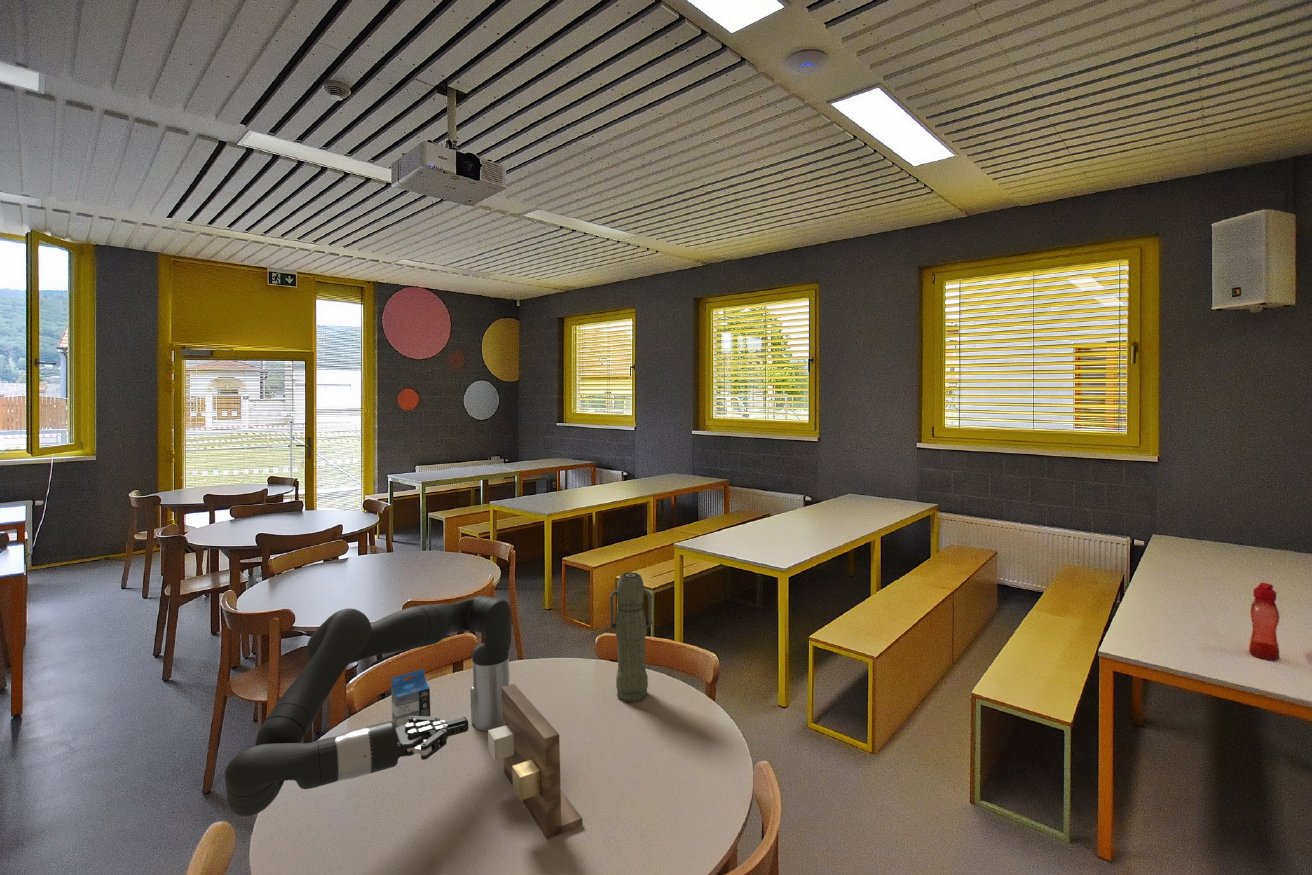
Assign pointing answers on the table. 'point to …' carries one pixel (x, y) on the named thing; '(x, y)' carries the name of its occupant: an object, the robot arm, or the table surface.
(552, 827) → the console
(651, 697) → the table surface
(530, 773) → the yellow rectangular block
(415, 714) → the label tape cartridge
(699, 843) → the table surface
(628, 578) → the thermos
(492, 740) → the key white
